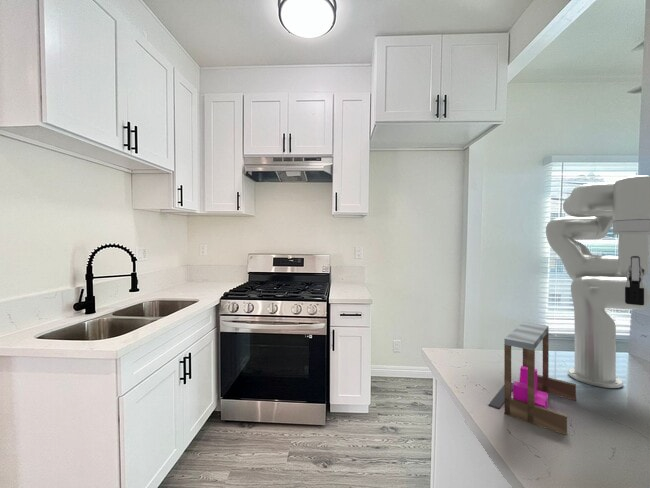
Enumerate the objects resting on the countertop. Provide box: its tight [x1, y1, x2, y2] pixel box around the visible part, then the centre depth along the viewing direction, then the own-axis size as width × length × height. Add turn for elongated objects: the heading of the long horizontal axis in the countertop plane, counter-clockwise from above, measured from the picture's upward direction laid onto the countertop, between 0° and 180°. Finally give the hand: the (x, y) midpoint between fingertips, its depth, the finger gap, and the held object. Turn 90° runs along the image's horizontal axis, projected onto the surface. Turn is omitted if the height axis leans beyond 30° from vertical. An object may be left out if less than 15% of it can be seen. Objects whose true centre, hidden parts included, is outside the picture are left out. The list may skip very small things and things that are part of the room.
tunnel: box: [503, 321, 577, 436], centre depth 79 cm, size 21×12×18 cm, turn 136°
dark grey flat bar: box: [488, 382, 514, 410], centre depth 85 cm, size 18×2×1 cm, turn 136°
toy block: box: [512, 365, 549, 409], centre depth 79 cm, size 15×6×8 cm, turn 141°
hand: (634, 304), depth 74 cm, fingers closed
